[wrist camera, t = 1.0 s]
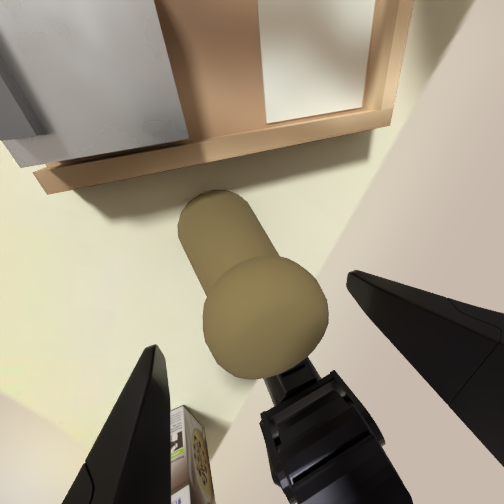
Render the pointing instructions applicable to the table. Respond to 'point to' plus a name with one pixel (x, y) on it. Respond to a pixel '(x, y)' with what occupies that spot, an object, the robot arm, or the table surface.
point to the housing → (262, 81)
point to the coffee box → (189, 461)
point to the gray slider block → (84, 79)
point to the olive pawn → (249, 289)
